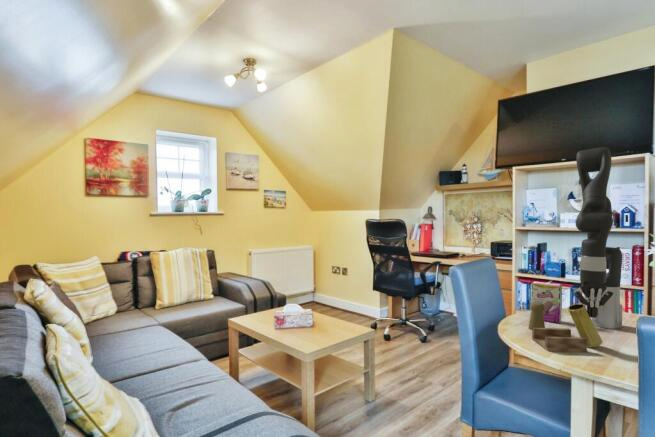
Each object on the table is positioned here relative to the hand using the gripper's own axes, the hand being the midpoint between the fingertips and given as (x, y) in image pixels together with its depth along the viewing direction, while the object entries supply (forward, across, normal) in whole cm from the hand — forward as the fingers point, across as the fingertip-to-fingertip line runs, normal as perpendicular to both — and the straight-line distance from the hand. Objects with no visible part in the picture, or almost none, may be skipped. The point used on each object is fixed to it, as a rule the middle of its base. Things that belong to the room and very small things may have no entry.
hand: (592, 317), depth 129 cm
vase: (+10, -1, 0) cm, 10 cm away
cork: (+11, +10, -18) cm, 24 cm away
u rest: (+11, +11, 0) cm, 15 cm away
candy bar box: (+11, 0, -31) cm, 33 cm away
